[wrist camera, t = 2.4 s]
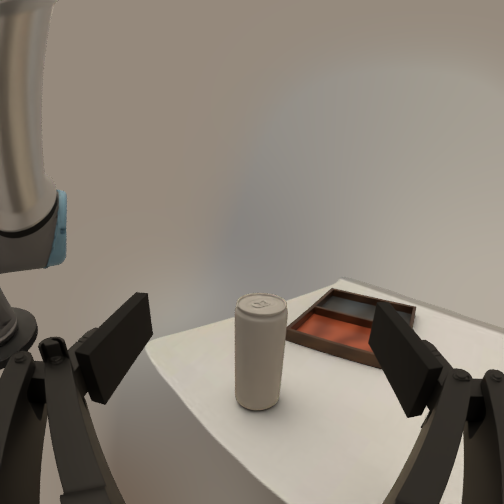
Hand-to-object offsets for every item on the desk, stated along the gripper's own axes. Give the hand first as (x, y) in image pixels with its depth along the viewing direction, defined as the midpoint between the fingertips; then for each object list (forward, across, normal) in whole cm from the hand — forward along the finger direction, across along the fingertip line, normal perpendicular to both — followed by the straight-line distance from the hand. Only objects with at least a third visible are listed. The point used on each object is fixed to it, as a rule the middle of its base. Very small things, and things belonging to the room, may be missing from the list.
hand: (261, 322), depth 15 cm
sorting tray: (+27, +16, -15) cm, 35 cm away
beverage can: (+10, 0, -15) cm, 18 cm away
